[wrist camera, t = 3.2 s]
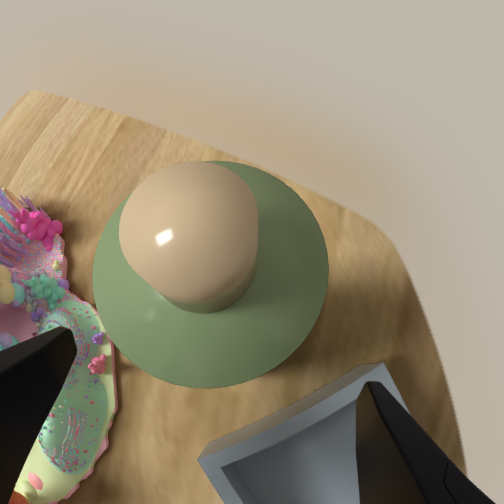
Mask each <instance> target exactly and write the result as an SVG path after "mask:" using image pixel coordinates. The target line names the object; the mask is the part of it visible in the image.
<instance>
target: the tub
mask: <svg viewBox="0 0 504 504" xmlns="http://www.w3.org/2000/svg"><path fill="white" fill-rule="evenodd" d="M367 381H379V382H381V383H382V384H383V385H384V386H385V387H386V389H387V390H388V391H389V392H390V393H391V394H392V395H393V396H394V397H395V398H396V400H397V401H398V402H399V403H400V404H401V405H402V406H403V407H404V408H405V410H406V411H407V412H408V413H409V411H408V409H407V407H406V405H405V403H404V401H403V399H402V397H401V395H400V393H399V391H398V389H397V387H396V385H395V383H394V381H393V379H392V378H391V376H390V374H389V372H388V370H387V368H386V366H385V364H384V363H383V362H382V363H375V364H367V365H359V366H356V367H355V368H353V369H352V370H350V371H349V372H347V373H345V374H344V375H342V376H340V377H339V378H337V379H335V380H334V381H332V382H330V383H329V384H327V385H325V386H324V387H322V388H320V389H318V390H317V391H315V392H313V393H311V394H310V395H308V396H306V397H304V398H302V399H300V400H299V401H297V402H295V403H293V404H291V405H289V406H287V407H285V408H283V409H281V410H279V411H277V412H275V413H273V414H271V415H269V416H267V417H265V418H263V419H261V420H259V421H257V422H255V423H252V424H250V425H248V426H246V427H244V428H241V429H239V430H237V431H235V432H232V433H230V434H228V435H225V436H223V437H220V438H218V439H216V440H213V441H211V442H209V443H208V444H207V446H206V447H205V449H204V450H203V452H202V453H201V455H200V456H199V457H198V459H197V460H198V462H199V463H200V465H201V467H202V468H203V470H204V472H205V473H206V475H207V477H208V478H209V480H210V482H211V483H212V485H213V486H214V488H215V490H216V491H217V493H218V494H219V496H220V497H221V499H222V500H223V502H224V503H225V504H360V499H359V485H358V473H357V462H356V450H355V441H356V401H357V398H358V396H359V394H360V392H361V390H362V388H363V386H364V384H365V382H367ZM409 414H410V413H409Z"/></svg>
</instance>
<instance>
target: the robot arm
mask: <svg viewBox="0 0 504 504" xmlns="http://www.w3.org/2000/svg"><path fill="white" fill-rule="evenodd" d="M76 355H77V346H76V343H75V339H74V336H73V332H72V331H71V329H69V328H66V327H63V326H59V327H56V328H54V329H52V330H49V331H47V332H44V333H42V334H40V335H37V336H35V337H32V338H30V339H28V340H25V341H23V342H21V343H18V344H16V345H13V346H11V347H9V348H6V349H4V350H2V351H0V504H8V503H9V501H10V498H11V496H12V493H13V491H14V488H15V486H16V483H17V480H18V478H19V476H20V473H21V471H22V469H23V467H24V464H25V462H26V460H27V458H28V455H29V453H30V451H31V449H32V447H33V445H34V443H35V441H36V439H37V436H38V434H39V432H40V430H41V428H42V426H43V424H44V422H45V420H46V418H47V417H48V415H49V413H50V411H51V409H52V407H53V405H54V403H55V401H56V399H57V398H58V396H59V394H60V392H61V390H62V387H63V385H64V383H65V380H66V378H67V376H68V373H69V371H70V369H71V366H72V364H73V362H74V360H75V357H76ZM355 450H356V462H357V473H358V485H359V499H360V504H495V503H494V502H493V501H492V500H491V499H490V498H488V497H487V496H486V495H485V494H484V493H483V492H482V491H481V490H480V489H478V488H477V487H476V486H475V485H474V484H473V483H472V482H471V481H470V480H469V479H468V478H467V477H466V476H465V475H464V474H463V473H462V472H461V471H460V470H459V469H458V468H457V467H456V465H455V464H454V463H453V462H452V461H451V460H450V459H448V457H447V455H446V454H445V453H444V452H443V451H442V450H441V449H440V448H439V446H438V445H437V444H436V443H435V442H434V441H433V440H432V439H431V437H430V436H429V435H428V434H427V433H426V432H425V431H424V430H423V429H422V427H421V426H420V425H419V424H418V423H417V422H416V421H415V420H414V419H413V417H412V416H411V415H410V414H409V413H408V412H407V411H406V410H405V408H404V407H403V406H402V405H401V404H400V403H399V402H398V401H397V400H396V398H395V397H394V396H393V395H392V394H391V393H390V392H389V391H388V390H387V389H386V387H385V386H384V385H383V384H382V383H381V382H379V381H367V382H365V384H364V386H363V388H362V390H361V392H360V394H359V396H358V398H357V401H356V441H355Z"/></svg>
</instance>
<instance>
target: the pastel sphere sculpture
mask: <svg viewBox="0 0 504 504" xmlns="http://www.w3.org/2000/svg"><path fill="white" fill-rule="evenodd" d="M20 196H21V195H20ZM21 198H22V200H23V201H24V202H25V203H26V204H27V205H28V206H29V207H30V208H31V209H32V210H33V212H29V211H28V210H27V209H26V208H25V206H24V205H23V203H22V202H21V201H20V200H19V199H17V198H16V197H15V196H14V195H13V193H11V192H10V191H9V190H7V189H6V188H2V189H1V188H0V207H1V208H0V351H2V350H4V349H6V348H9V347H11V346H13V345H16V344H18V343H21V342H23V341H25V340H28V339H30V338H32V337H35V336H37V335H40V334H42V333H44V332H47V331H49V330H52V329H54V328H56V327H59V326H63V327H66V328H69V329H71V331H72V332H73V336H74V339H75V343H76V346H77V355H76V357H75V360H74V362H73V364H72V366H71V369H70V371H69V373H68V376H67V378H66V380H65V383H64V385H63V387H62V390H61V392H60V394H59V396H58V398H57V399H56V401H55V403H54V405H53V407H52V409H51V411H50V413H49V415H48V417H47V418H46V420H45V422H44V424H43V426H42V428H41V430H40V432H39V434H38V436H37V439H36V441H35V443H34V445H33V447H32V449H31V451H30V453H29V455H28V458H27V460H26V462H25V464H24V467H23V469H22V471H21V473H20V476H19V478H18V480H17V483H16V486H15V488H14V491H13V493H12V496H11V498H10V501H9V503H8V504H29V503H30V504H57V503H58V502H59V501H60V500H61V499H67V498H69V497H70V496H71V495H72V494H73V493H74V492H75V491H76V490H77V489H78V488H79V487H80V483H79V482H80V481H81V480H84V479H86V478H87V477H88V476H89V475H90V474H91V473H93V471H94V465H95V462H96V461H97V460H98V458H99V457H100V456H101V455H102V454H103V453H104V451H105V450H106V449H107V448H108V447H109V440H108V431H109V428H110V427H111V426H112V423H113V421H112V420H113V417H114V414H115V413H116V412H117V410H118V400H117V386H116V374H115V358H114V343H113V341H112V340H111V339H110V337H109V336H108V334H107V332H106V330H105V328H104V327H103V325H102V322H101V320H100V317H99V314H98V312H97V310H96V309H95V308H94V307H93V305H92V304H90V303H88V302H85V301H82V300H81V299H80V298H79V297H77V296H75V294H71V292H70V291H69V287H70V284H69V282H68V281H67V280H66V277H67V266H68V260H67V258H66V257H65V255H64V247H65V241H64V240H63V239H62V237H61V236H60V235H61V233H62V231H63V225H62V223H61V222H60V221H58V220H53V221H51V218H50V217H49V216H48V215H47V214H46V213H45V212H44V211H43V209H42V208H41V207H40V206H39V207H40V209H41V211H39V210H37V208H36V207H35V206H34V205H33V203H32V202H31V201H30V200H29V199H28V198H26V197H25V198H26V199H24V198H23V197H22V196H21ZM44 215H45V216H44Z"/></svg>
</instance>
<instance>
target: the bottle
mask: <svg viewBox="0 0 504 504" xmlns="http://www.w3.org/2000/svg"><path fill="white" fill-rule="evenodd" d="M328 273H329V264H328V254H327V249H326V244H325V240H324V237H323V234H322V232H321V229H320V227H319V224H318V222H317V220H316V219H315V217H314V215H313V213H312V212H311V210H310V209H309V207H308V206H307V205H306V203H305V202H304V201H303V200H302V199H301V198H300V197H299V196H298V194H297V193H296V192H295V191H294V190H292V189H291V188H290V187H289V186H287V185H286V184H285V183H284V182H282V181H281V180H279V179H277V178H276V177H274V176H272V175H271V174H269V173H266V172H264V171H262V170H260V169H257V168H254V167H251V166H248V165H245V164H240V163H234V162H226V161H189V162H182V163H177V164H174V165H170V166H168V167H165V168H163V169H161V170H159V171H157V172H155V173H154V174H152V175H151V176H149V177H148V178H147V179H145V180H144V181H143V182H142V183H141V184H140V185H139V186H138V187H137V188H136V189H135V190H134V192H132V193H131V194H130V195H129V196H128V197H127V198H126V199H125V200H124V201H123V202H122V203H121V204H120V206H119V207H118V208H117V210H116V211H115V212H114V214H113V215H112V216H111V218H110V220H109V221H108V223H107V225H106V227H105V229H104V231H103V233H102V235H101V238H100V240H99V243H98V246H97V250H96V253H95V259H94V265H93V281H92V283H93V293H94V300H95V304H96V308H97V312H98V314H99V317H100V320H101V322H102V325H103V327H104V328H105V330H106V332H107V334H108V336H109V337H110V339H111V340H112V341H113V343H114V344H115V345H116V347H117V348H118V349H119V351H120V352H121V353H122V354H123V355H124V356H125V357H127V358H128V359H129V360H130V361H131V362H132V363H133V364H135V365H136V366H137V367H139V368H140V369H142V370H143V371H145V372H146V373H148V374H150V375H152V376H154V377H156V378H158V379H160V380H163V381H166V382H169V383H172V384H175V385H180V386H185V387H190V388H208V389H209V388H220V387H228V386H232V385H236V384H240V383H244V382H247V381H249V380H252V379H254V378H256V377H259V376H261V375H263V374H265V373H266V372H268V371H270V370H271V369H273V368H275V367H276V366H278V365H279V364H280V363H282V362H283V361H284V360H285V359H287V358H288V357H289V356H290V355H291V354H292V353H293V352H294V351H295V350H296V349H297V348H298V347H299V346H300V345H301V344H302V342H303V341H304V340H305V338H306V337H307V335H308V334H309V333H310V331H311V330H312V328H313V326H314V324H315V322H316V320H317V318H318V316H319V314H320V312H321V309H322V306H323V303H324V300H325V296H326V291H327V285H328Z"/></svg>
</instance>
